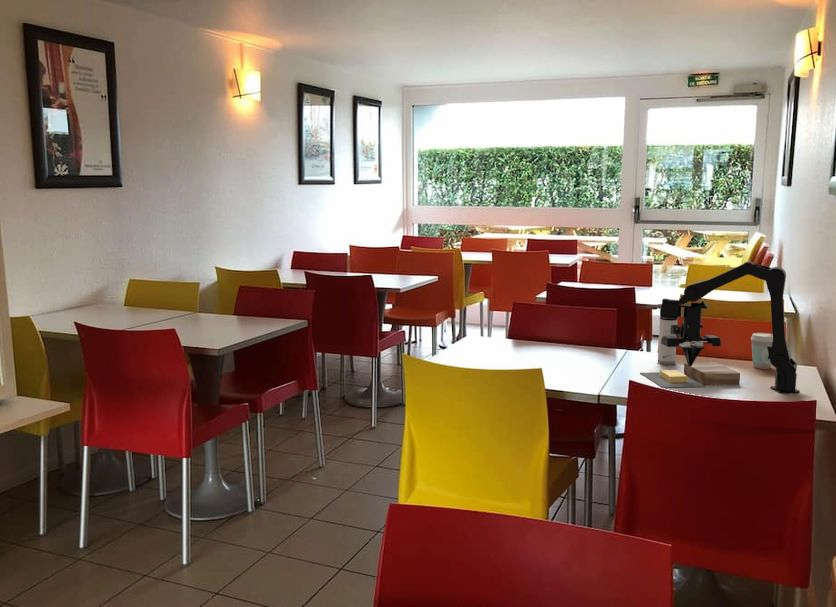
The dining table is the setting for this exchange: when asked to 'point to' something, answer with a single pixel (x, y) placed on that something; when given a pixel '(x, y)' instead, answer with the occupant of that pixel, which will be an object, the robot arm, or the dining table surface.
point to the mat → (665, 384)
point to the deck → (712, 374)
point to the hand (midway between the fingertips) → (689, 365)
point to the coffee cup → (761, 350)
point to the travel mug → (664, 353)
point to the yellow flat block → (673, 376)
